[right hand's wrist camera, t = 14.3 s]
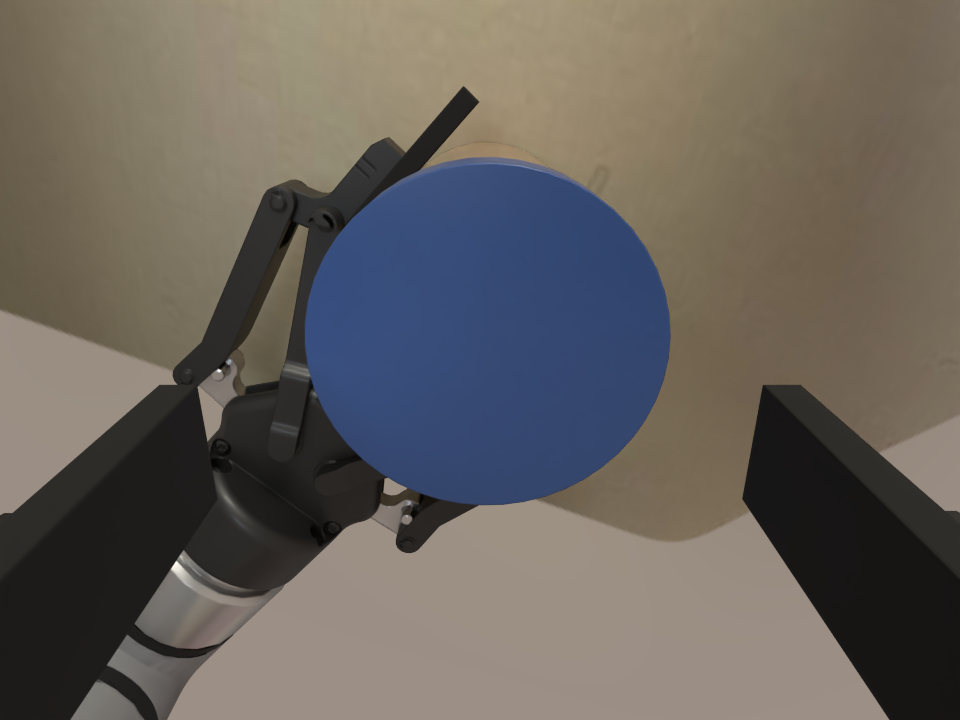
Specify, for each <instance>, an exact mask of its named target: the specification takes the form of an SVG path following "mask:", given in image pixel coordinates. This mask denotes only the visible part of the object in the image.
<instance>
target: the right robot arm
mask: <svg viewBox="0 0 960 720" xmlns="http://www.w3.org/2000/svg"><path fill="white" fill-rule="evenodd" d="M217 499H218V498H217V493H216V487H215V482H214V476H213V471H212V465H211V459H210V454H209V448H208V443H207V437H206V432H205V426H204V421H203V416H202V410H201V404H200V399H199V393H198V388H197V385H159V386H158V387H157V388H156V389H154V390H153V391H152V392H151V393H150V394H149V395H148V396H146V397H145V398H144V399H143V400H142V401H141V402H140V403H138V404H137V405H136V406H135V407H134V408H133V409H131V410H130V411H129V412H128V413H127V414H126V415H125V416H123V417H122V418H121V419H120V420H119V421H118V422H117V423H115V424H114V425H113V426H112V427H111V428H110V429H109V430H107V431H106V432H105V433H104V434H103V435H102V436H101V437H99V438H98V439H97V440H96V441H95V442H94V443H92V444H91V445H90V446H89V447H88V448H87V449H86V450H84V451H83V452H82V453H81V454H80V455H79V456H78V457H76V458H75V459H74V460H73V461H72V462H71V463H70V464H68V465H67V466H66V467H65V468H64V469H63V470H62V471H60V472H59V473H58V474H57V475H56V476H55V477H53V478H52V479H51V480H50V481H49V482H48V483H47V484H45V485H44V486H43V487H42V488H41V489H40V490H39V491H37V492H36V493H35V494H34V495H33V496H32V497H31V498H29V499H28V500H27V501H26V502H25V503H24V504H23V505H21V506H20V507H19V508H18V509H17V510H16V511H15V512H13V513H4V514H2V515H0V720H71V718H72V717H73V715H74V714H75V712H76V711H77V709H78V708H79V706H80V705H81V703H82V702H83V700H84V699H85V697H86V696H87V694H88V693H89V691H90V690H91V688H92V687H93V685H94V684H95V682H96V681H97V679H98V678H99V676H100V675H101V673H102V672H103V670H104V669H105V667H106V666H107V664H108V663H109V661H110V660H111V658H112V657H113V655H114V654H115V652H116V651H117V649H118V648H119V646H120V645H121V643H122V642H123V640H124V639H125V637H126V636H127V634H128V633H129V631H130V630H131V628H132V627H133V625H134V624H135V622H136V621H137V619H138V618H139V616H140V615H141V613H142V612H143V610H144V609H145V607H146V606H147V604H148V603H149V601H150V600H151V598H152V597H153V595H154V594H155V592H156V591H157V589H158V588H159V586H160V585H161V583H162V582H163V580H164V579H165V577H166V576H167V574H168V573H169V571H170V570H171V568H172V567H173V565H174V564H175V562H176V561H177V559H178V558H179V556H180V555H181V553H182V552H183V550H184V549H185V547H186V546H187V544H188V543H189V541H190V540H191V538H192V537H193V535H194V534H195V532H196V531H197V529H198V528H199V526H200V525H201V523H202V522H203V520H204V519H205V517H206V516H207V514H208V513H209V511H210V510H211V508H212V507H213V505H214V504H215V502H216V501H217ZM742 499H743V501H744V502H745V504H746V505H747V507H748V508H749V510H750V511H751V513H752V514H753V516H754V517H755V519H756V520H757V522H758V523H759V525H760V526H761V528H762V529H763V531H764V532H765V534H766V535H767V537H768V538H769V540H770V541H771V543H772V544H773V546H774V547H775V549H776V550H777V552H778V553H779V555H780V556H781V558H782V559H783V561H784V562H785V564H786V565H787V567H788V568H789V570H790V571H791V573H792V574H793V576H794V577H795V579H796V580H797V582H798V583H799V585H800V586H801V588H802V589H803V591H804V592H805V594H806V595H807V597H808V598H809V600H810V601H811V603H812V604H813V606H814V607H815V609H816V610H817V612H818V613H819V615H820V616H821V618H822V619H823V621H824V622H825V624H826V625H827V627H828V628H829V630H830V631H831V633H832V634H833V636H834V637H835V639H836V640H837V642H838V643H839V645H840V646H841V648H842V649H843V651H844V652H845V654H846V655H847V657H848V658H849V660H850V661H851V663H852V664H853V666H854V667H855V669H856V670H857V672H858V673H859V675H860V676H861V678H862V679H863V681H864V682H865V684H866V685H867V687H868V688H869V690H870V691H871V693H872V694H873V696H874V697H875V699H876V700H877V702H878V703H879V705H880V706H881V708H882V709H883V711H884V712H885V714H886V715H887V717H888V718H889V720H960V513H959V512H957V511H944V510H943V509H942V508H941V507H940V506H939V505H938V504H936V503H935V502H934V501H933V500H932V499H931V498H929V497H928V496H927V495H926V494H925V493H924V492H923V491H921V490H920V489H919V488H918V487H917V486H916V485H915V484H913V483H912V482H911V481H910V480H909V479H908V478H907V477H905V476H904V475H903V474H902V473H901V472H900V471H899V470H897V469H896V468H895V467H894V466H893V465H892V464H890V463H889V462H888V461H887V460H886V459H885V458H884V457H882V456H881V455H880V454H879V453H878V452H877V451H876V450H874V449H873V448H872V447H871V446H870V445H869V444H868V443H866V442H865V441H864V440H863V439H862V438H861V437H860V436H858V435H857V434H856V433H855V432H854V431H853V430H852V429H850V428H849V427H848V426H847V425H846V424H845V423H843V422H842V421H841V420H840V419H839V418H838V417H837V416H835V415H834V414H833V413H832V412H831V411H830V410H829V409H827V408H826V407H825V406H824V405H823V404H822V403H821V402H819V401H818V400H817V399H816V398H815V397H814V396H813V395H811V394H810V393H809V392H808V391H807V390H806V389H804V388H803V387H802V386H801V385H763V388H762V393H761V399H760V404H759V410H758V415H757V421H756V426H755V432H754V437H753V443H752V448H751V454H750V459H749V465H748V470H747V476H746V482H745V487H744V493H743V498H742Z"/></svg>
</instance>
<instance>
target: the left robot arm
mask: <svg viewBox="0 0 960 720" xmlns="http://www.w3.org/2000/svg"><path fill="white" fill-rule="evenodd" d="M478 103H479V101H478V100H477V99H476V98H475V97H474V96H473V95H472V94H471V93H470V92H469V91H468V90H467V89H466V88H465V87H464V86H463V87H462V88H461V90H460V91H459V92H458V93H457V94H456V95H455V97H454V98H453V99H452V100H451V101H450V102H449V104H448V105H447V106H446V107H445V108H444V109H443V110H442V112H441V113H440V114H439V115H438V116H437V117H436V119H435V120H434V121H433V122H432V123H431V124H430V126H429V127H428V128H427V129H426V130H425V131H424V133H423V134H422V135H421V136H420V137H419V138H418V140H417V141H416V142H415V143H414V144H413V145H412V147H411V148H410V149H409V150H408V151H407V152H406V153H405V152H404V151H403V150H402V149H401V148H400V147H399V146H398V145H397V144H396V143H395V142H394V141H393V140H392V139H391V138H390V137H387V138H385V139H383V140H381V141H379V142H377V143H375V144H373V145H371V146H370V147H369V148H368V150H367V151H366V152H365V153H364V154H363V156H362V157H361V158H360V159H359V160H358V162H357V163H356V164H355V165H354V166H353V168H352V169H351V170H350V171H349V172H348V174H347V175H346V176H345V177H344V178H343V180H342V181H341V182H340V183H339V184H338V186H337V187H336V188H335V189H334V190H333V191H332V192H331V193H322V192H319V191H316V190H314V189H312V188H309V187H307V186H306V185H305V184H304V183H303V182H302V181H299V180H289V181H287V182H284V183H282V184H279V185H277V186H274V187H272V188H270V189H268V190H267V191H266V193H265V194H264V196H263V198H262V200H261V203H260V205H259V207H258V210H257V212H256V215H255V217H254V219H253V222H252V224H251V226H250V229H249V231H248V233H247V236H246V238H245V241H244V243H243V245H242V248H241V250H240V252H239V255H238V257H237V260H236V262H235V264H234V267H233V269H232V271H231V274H230V276H229V278H228V281H227V283H226V286H225V288H224V290H223V293H222V295H221V297H220V300H219V302H218V305H217V307H216V309H215V312H214V314H213V316H212V319H211V321H210V323H209V326H208V328H207V331H206V333H205V335H204V338H203V340H202V342H201V343H200V344H199V345H198V346H197V347H196V348H195V349H194V350H193V351H192V352H191V353H190V354H189V355H188V356H187V357H185V358H184V359H183V360H182V361H181V362H180V363H179V364H178V365H177V366H176V367H175V369H174V370H173V378H174V381H175V382H176V383H177V385H197V387H198V386H200V387H201V388H202V389H203V390H204V391H205V392H207V393H208V394H209V395H210V396H211V397H212V398H213V399H214V400H215V401H217V402H218V403H219V404H220V405H221V406H222V407H223V408H224V409H223V413H222V421H221V425H220V428H219V430H218V431H217V432H216V433H215V434H214V435H213V436H212V437H211V439H210V440H209V441H208V442H207V443H208V448H209V454H210V459H211V465H212V471H213V476H214V482H215V487H216V493H217V498H218V499H217V501H216V502H215V504H214V505H213V507H212V508H211V510H210V511H209V513H208V514H207V516H206V517H205V519H204V520H203V522H202V523H201V525H200V526H199V528H198V529H197V531H196V532H195V534H194V535H193V537H192V538H191V540H190V541H189V543H188V544H187V546H186V547H185V549H184V550H183V552H182V553H181V555H180V556H179V558H178V559H177V561H176V562H175V564H174V565H173V567H172V568H171V570H170V571H169V573H168V574H167V576H166V577H165V579H164V580H163V582H162V583H161V585H160V586H159V588H158V589H157V591H156V592H155V594H154V595H153V597H152V598H151V600H150V601H149V603H148V604H147V606H146V607H145V609H144V610H143V612H142V613H141V615H140V616H139V618H138V619H137V621H136V622H135V624H134V625H133V627H132V628H131V630H130V631H129V633H128V634H127V636H126V637H125V639H124V640H123V642H122V643H121V645H120V646H119V648H118V649H117V651H116V652H115V654H114V655H113V657H112V658H111V660H110V661H109V663H108V664H107V666H106V667H105V669H104V670H103V672H102V673H101V675H100V676H99V678H98V679H97V681H96V682H95V684H94V685H93V687H92V688H91V690H90V691H89V693H88V694H87V696H86V697H85V699H84V700H83V702H82V703H81V705H80V706H79V708H78V709H77V711H76V712H75V714H74V715H73V717H72V718H71V720H167V718H168V717H169V715H170V713H171V711H172V709H173V707H174V705H175V703H176V701H177V699H178V697H179V695H180V693H181V691H182V690H183V688H184V686H185V685H186V683H187V682H188V680H189V679H190V678H191V676H192V675H193V674H194V673H195V671H196V670H197V669H198V668H199V667H200V666H201V665H202V664H203V663H204V662H205V661H206V660H207V659H208V658H209V657H210V656H212V654H214V653H215V652H216V651H217V650H218V649H219V648H220V647H221V646H222V645H223V644H224V643H225V642H226V641H227V640H228V639H229V638H230V637H231V636H233V634H234V633H235V632H236V631H238V630H239V629H240V628H241V627H242V626H243V625H244V624H245V623H246V622H247V621H248V620H249V619H250V618H251V617H253V616H254V615H255V614H256V613H257V612H258V611H259V610H260V609H261V608H262V607H263V606H264V605H265V604H266V603H267V602H269V601H270V600H271V599H272V598H273V597H274V596H275V595H276V594H277V593H278V592H279V591H280V590H281V589H282V588H283V586H284V585H285V584H286V583H288V582H289V581H290V580H292V579H293V578H294V577H295V576H296V575H297V574H298V573H299V572H300V571H301V570H302V569H303V568H304V567H305V566H306V565H308V564H309V563H310V562H311V561H312V560H313V559H314V558H315V557H316V556H317V555H318V554H319V553H320V552H321V551H322V550H323V549H324V548H326V547H327V546H328V545H329V544H330V543H331V542H332V541H333V540H334V539H335V538H336V537H337V536H338V535H339V534H340V533H341V531H342V530H344V529H345V528H346V527H348V526H349V525H352V524H354V523H357V522H362V521H365V520H367V519H369V518H372V519H373V520H375V521H376V522H378V523H380V524H381V525H383V526H385V527H386V528H388V529H389V530H391V531H393V532H394V533H396V534H397V537H396V545H397V547H398V549H399V550H401V551H403V552H405V553H413V552H415V551H417V550H418V549H419V548H420V547H421V546H422V545H423V544H424V543H425V542H426V541H427V539H428V538H429V537H430V536H431V535H432V534H433V533H434V532H435V530H436V529H437V528H438V527H439V526H441V525H442V524H444V523H446V522H448V521H450V520H452V519H454V518H456V517H458V516H460V515H461V514H463V513H465V512H467V511H469V510H471V509H473V508H474V507H476V506H478V505H473V504H462V503H455V502H450V501H445V500H440V499H437V498H433V497H430V496H427V495H424V494H421V493H418V492H416V491H413V490H411V489H409V488H407V489H406V490H404V491H403V492H401V493H400V494H398V495H393V496H391V495H387V494H385V493H383V490H384V479H385V478H388V477H386V476H385V475H383V474H381V473H380V472H378V471H377V470H376V469H374V468H373V467H372V466H370V465H369V464H368V463H367V462H365V461H364V460H363V459H362V458H361V457H360V456H359V455H358V454H357V453H356V452H355V451H354V450H353V449H352V448H351V447H349V446H348V444H347V443H346V442H345V441H344V439H343V438H342V437H341V436H340V434H339V433H338V432H337V431H336V429H335V428H334V427H333V425H332V423H331V422H330V420H329V418H328V417H327V415H326V413H325V412H324V410H323V408H322V406H321V404H320V401H319V399H318V397H317V394H316V392H315V390H314V387H313V383H312V380H311V376H310V373H309V369H308V364H307V357H306V350H305V319H306V311H307V304H308V299H309V295H310V292H311V288H312V285H313V281H314V278H315V276H316V274H317V272H318V269H319V267H320V265H321V263H322V260H323V258H324V256H325V255H326V253H327V251H328V250H329V248H330V247H331V245H332V244H333V242H334V240H335V239H336V237H337V236H338V235H339V234H340V232H341V231H342V230H343V229H344V228H345V227H346V225H347V224H348V223H349V222H350V221H351V220H352V218H353V217H354V216H356V215H357V214H358V213H359V212H360V211H361V210H362V209H363V208H365V207H366V206H367V205H368V204H369V203H370V202H371V201H373V200H374V199H375V198H376V197H377V196H378V195H379V194H380V193H382V192H383V191H384V190H386V189H387V188H389V187H390V186H392V185H394V184H395V183H397V182H398V181H400V180H401V179H403V178H405V177H407V176H409V175H411V174H413V173H416V172H418V171H419V170H420V169H421V168H422V167H423V166H424V165H425V163H426V162H427V161H428V160H429V159H430V158H431V157H432V155H433V154H434V153H435V152H436V151H437V150H438V149H439V147H440V146H441V145H442V144H443V143H444V142H445V141H446V139H447V138H448V137H449V136H450V135H451V134H452V133H453V131H454V130H455V129H456V128H457V127H458V126H459V125H460V123H461V122H462V121H463V120H464V119H465V118H466V117H467V115H468V114H469V113H470V112H471V111H472V110H473V109H474V107H475V106H476V105H477V104H478ZM299 224H300V225H302V226H305V227H307V228H309V231H308V237H307V242H306V248H305V254H304V259H303V265H302V271H301V276H300V282H299V288H298V293H297V299H296V305H295V310H294V316H293V322H292V328H291V333H290V339H289V345H288V350H287V356H286V361H285V364H284V366H283V369H282V372H281V376H280V380H279V381H274V382H268V383H262V384H256V385H251V386H246V387H245V386H244V385H243V383H242V381H241V379H240V373H241V371H242V369H243V367H244V364H245V361H244V358H243V353H242V352H241V351H240V350H238V349H237V348H238V347H239V346H240V345H241V344H242V343H243V342H244V340H245V339H246V338H247V336H248V335H249V333H250V331H251V329H252V327H253V325H254V323H255V321H256V318H257V316H258V314H259V312H260V309H261V307H262V305H263V303H264V301H265V298H266V296H267V294H268V292H269V289H270V287H271V285H272V283H273V281H274V278H275V276H276V274H277V272H278V269H279V267H280V265H281V263H282V261H283V258H284V256H285V254H286V252H287V250H288V247H289V245H290V243H291V241H292V238H293V236H294V234H295V232H296V230H297V227H298V225H299Z"/></svg>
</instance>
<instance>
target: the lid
mask: <svg viewBox="0 0 960 720" xmlns="http://www.w3.org/2000/svg"><path fill="white" fill-rule="evenodd" d="M669 347H670V319H669V310H668V305H667V300H666V295H665V290H664V287H663V285H662V282H661V279H660V276H659V273H658V271H657V268H656V266H655V264H654V262H653V260H652V258H651V257H650V255H649V253H648V251H647V249H646V247H645V246H644V244H643V243H642V242H641V240H640V239H639V238H638V236H637V235H636V233H635V232H634V231H633V229H632V228H631V227H630V226H629V225H628V224H627V223H626V222H625V221H624V220H623V219H622V218H621V217H620V215H619V214H618V213H617V212H616V211H615V210H614V209H612V208H611V207H610V206H609V205H608V204H607V203H605V202H604V201H603V200H602V199H600V198H599V197H598V196H597V195H595V194H594V193H593V192H591V191H590V190H589V189H587V188H586V187H585V186H584V185H582V184H580V183H578V182H577V181H575V180H573V179H571V178H570V177H568V176H566V175H564V174H562V173H560V172H557V171H555V170H552V169H550V168H547V167H545V166H542V165H539V164H535V163H531V162H527V161H523V160H518V159H510V158H500V157H473V158H464V159H459V160H453V161H447V162H443V163H440V164H437V165H434V166H431V167H428V168H424V169H422V170H420V171H418V172H416V173H413V174H411V175H409V176H407V177H405V178H403V179H401V180H400V181H398V182H397V183H395V184H394V185H392V186H390V187H389V188H387V189H386V190H384V191H383V192H382V193H380V194H379V195H378V196H377V197H376V198H375V199H374V200H373V201H371V202H370V203H369V204H368V205H367V206H366V207H365V208H363V209H362V210H361V211H360V212H359V213H358V214H357V215H356V216H354V217H353V218H352V220H351V221H350V222H349V223H348V224H347V225H346V227H345V228H344V229H343V230H342V231H341V232H340V234H339V235H338V236H337V237H336V239H335V240H334V242H333V244H332V245H331V247H330V248H329V250H328V251H327V253H326V255H325V256H324V258H323V260H322V263H321V265H320V267H319V269H318V272H317V274H316V276H315V278H314V281H313V285H312V288H311V292H310V295H309V299H308V304H307V311H306V319H305V350H306V357H307V364H308V369H309V373H310V376H311V380H312V383H313V387H314V390H315V392H316V394H317V397H318V399H319V401H320V404H321V406H322V408H323V410H324V412H325V413H326V415H327V417H328V418H329V420H330V422H331V423H332V425H333V427H334V428H335V429H336V431H337V432H338V433H339V434H340V436H341V437H342V438H343V439H344V441H345V442H346V443H347V444H348V446H349V447H351V448H352V449H353V450H354V451H355V452H356V453H357V454H358V455H359V456H360V457H361V458H362V459H363V460H364V461H365V462H367V463H368V464H369V465H370V466H372V467H373V468H374V469H376V470H377V471H378V472H380V473H381V474H383V475H385V476H386V477H388V478H390V479H391V480H393V481H395V482H396V483H398V484H400V485H402V486H404V487H407V488H409V489H411V490H413V491H416V492H418V493H421V494H424V495H427V496H430V497H433V498H437V499H440V500H445V501H450V502H455V503H462V504H473V505H504V504H511V503H519V502H525V501H529V500H533V499H537V498H541V497H545V496H548V495H550V494H553V493H556V492H558V491H561V490H564V489H566V488H568V487H570V486H572V485H574V484H576V483H578V482H580V481H582V480H584V479H585V478H587V477H588V476H590V475H591V474H593V473H594V472H596V471H597V470H599V469H600V468H602V467H603V466H604V465H605V464H607V463H608V462H609V461H610V460H611V459H612V458H614V457H615V456H616V455H617V454H618V453H619V452H620V451H621V450H622V449H623V448H624V447H625V446H626V445H627V443H628V442H629V441H630V440H631V439H632V438H633V437H634V435H635V434H636V433H637V431H638V430H639V428H640V427H641V426H642V424H643V423H644V421H645V420H646V418H647V416H648V414H649V412H650V411H651V409H652V407H653V405H654V403H655V401H656V399H657V396H658V393H659V391H660V388H661V385H662V383H663V380H664V376H665V372H666V367H667V363H668V358H669Z"/></svg>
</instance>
